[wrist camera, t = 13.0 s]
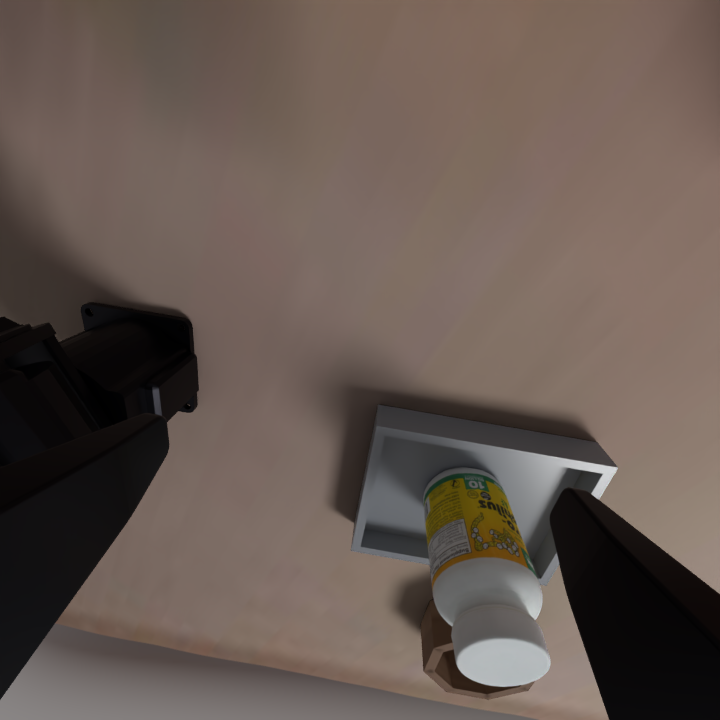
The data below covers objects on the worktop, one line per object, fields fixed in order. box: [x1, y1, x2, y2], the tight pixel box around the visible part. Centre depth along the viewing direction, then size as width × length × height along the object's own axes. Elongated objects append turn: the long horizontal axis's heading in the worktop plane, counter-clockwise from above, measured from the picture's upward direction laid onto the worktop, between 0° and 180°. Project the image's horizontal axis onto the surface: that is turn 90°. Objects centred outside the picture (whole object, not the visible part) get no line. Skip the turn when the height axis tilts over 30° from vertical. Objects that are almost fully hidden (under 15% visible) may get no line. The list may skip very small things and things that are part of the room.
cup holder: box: [421, 600, 536, 700], centre depth 30 cm, size 9×9×4 cm
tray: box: [351, 405, 618, 586], centre depth 24 cm, size 14×11×2 cm
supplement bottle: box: [423, 467, 550, 687], centre depth 20 cm, size 5×5×10 cm
